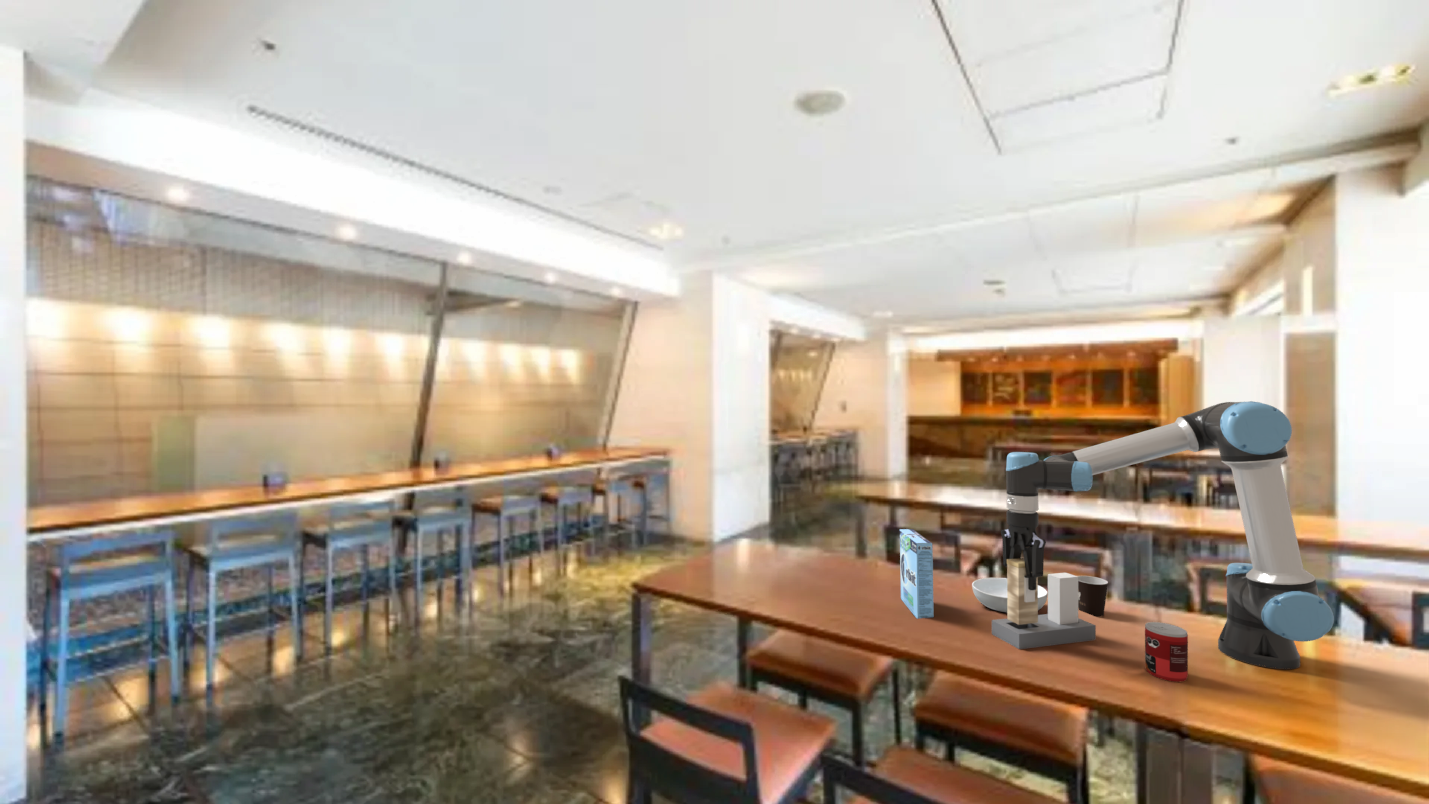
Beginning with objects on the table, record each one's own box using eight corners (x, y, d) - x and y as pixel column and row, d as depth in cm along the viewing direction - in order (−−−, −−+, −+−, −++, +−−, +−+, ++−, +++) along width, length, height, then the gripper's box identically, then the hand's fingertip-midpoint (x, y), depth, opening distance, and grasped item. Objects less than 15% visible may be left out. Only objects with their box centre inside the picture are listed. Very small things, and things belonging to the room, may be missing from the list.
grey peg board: (1095, 644, 154) (1095, 625, 154) (1019, 653, 149) (1019, 634, 149) (1064, 629, 164) (1064, 612, 164) (991, 638, 158) (991, 620, 158)
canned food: (1146, 664, 143) (1145, 619, 143) (1188, 673, 137) (1187, 627, 137) (1143, 675, 137) (1143, 628, 137) (1187, 686, 132) (1187, 637, 132)
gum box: (933, 621, 171) (933, 543, 171) (916, 620, 171) (916, 543, 171) (915, 598, 190) (914, 528, 190) (899, 598, 191) (899, 528, 191)
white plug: (1078, 636, 157) (1078, 576, 157) (1059, 638, 155) (1059, 578, 155) (1066, 630, 160) (1065, 572, 161) (1047, 632, 159) (1047, 574, 159)
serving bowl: (976, 594, 195) (976, 573, 195) (1048, 605, 184) (1048, 583, 184) (967, 613, 177) (967, 591, 177) (1046, 627, 166) (1046, 602, 166)
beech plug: (1038, 622, 153) (1038, 561, 153) (1018, 624, 152) (1018, 563, 152) (1026, 616, 157) (1026, 557, 158) (1006, 619, 156) (1006, 559, 156)
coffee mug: (1107, 620, 171) (1107, 586, 171) (1073, 613, 176) (1072, 580, 176) (1109, 609, 181) (1109, 576, 181) (1077, 603, 186) (1077, 571, 186)
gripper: (987, 505, 162) (988, 589, 162) (1035, 517, 146) (1035, 610, 146) (1010, 504, 164) (1011, 587, 164) (1060, 515, 147) (1060, 608, 147)
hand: (1022, 598), depth 155 cm, fingers closed on beech plug, 4 cm apart
